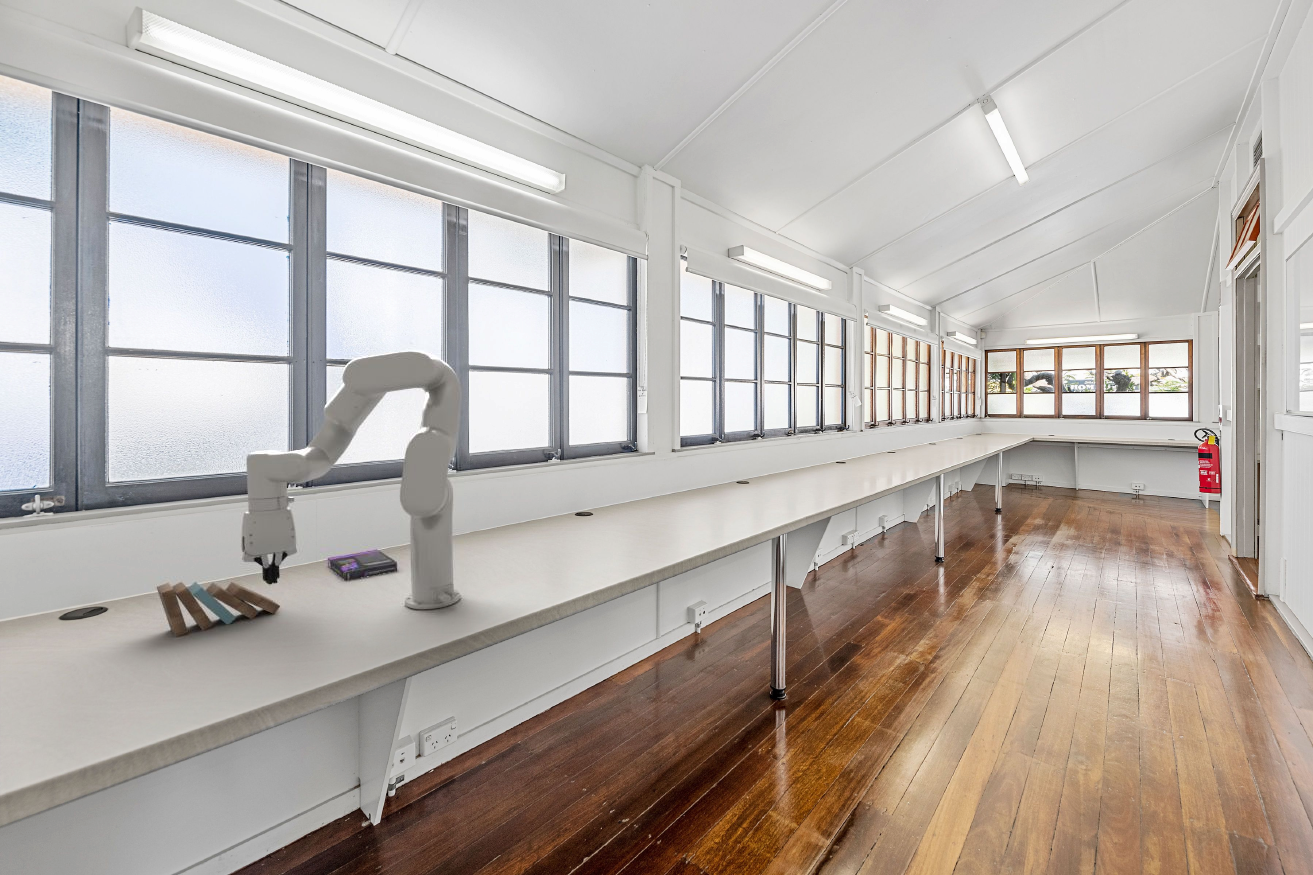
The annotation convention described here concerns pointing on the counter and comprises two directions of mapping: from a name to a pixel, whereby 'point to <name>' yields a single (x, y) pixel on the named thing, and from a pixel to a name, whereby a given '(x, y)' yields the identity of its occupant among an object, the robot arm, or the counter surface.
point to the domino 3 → (211, 603)
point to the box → (362, 564)
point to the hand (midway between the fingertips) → (271, 582)
